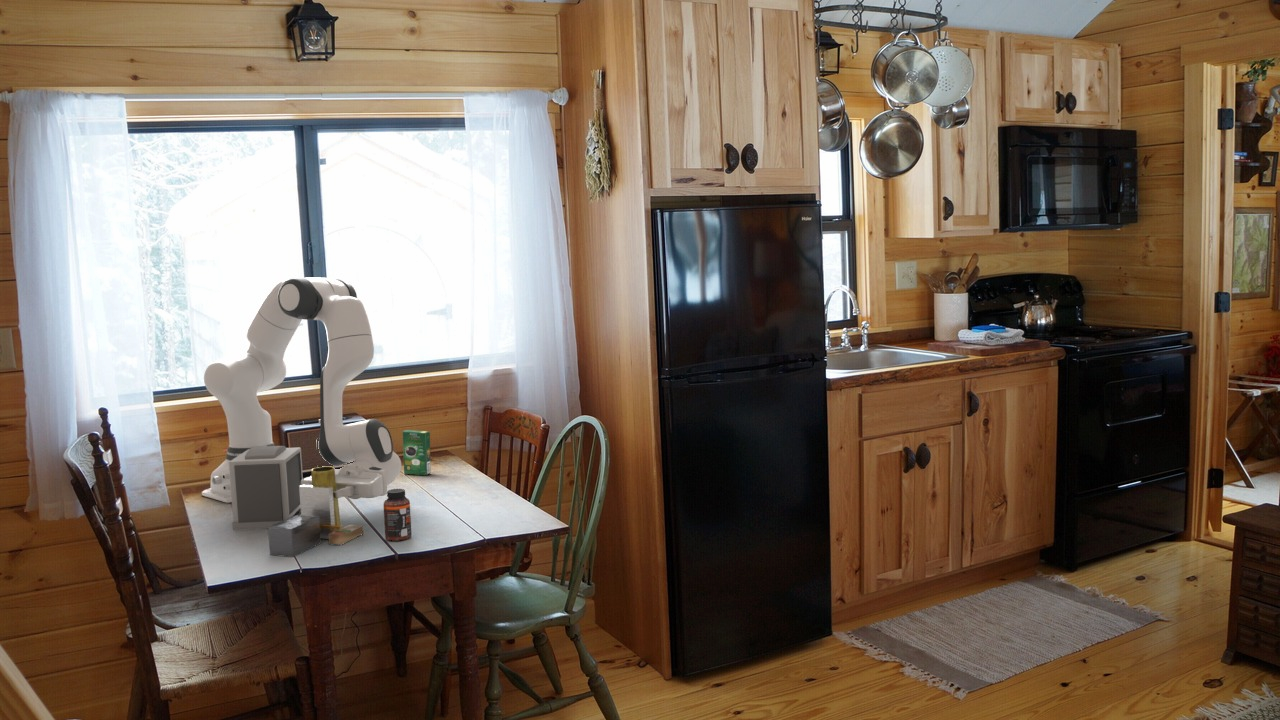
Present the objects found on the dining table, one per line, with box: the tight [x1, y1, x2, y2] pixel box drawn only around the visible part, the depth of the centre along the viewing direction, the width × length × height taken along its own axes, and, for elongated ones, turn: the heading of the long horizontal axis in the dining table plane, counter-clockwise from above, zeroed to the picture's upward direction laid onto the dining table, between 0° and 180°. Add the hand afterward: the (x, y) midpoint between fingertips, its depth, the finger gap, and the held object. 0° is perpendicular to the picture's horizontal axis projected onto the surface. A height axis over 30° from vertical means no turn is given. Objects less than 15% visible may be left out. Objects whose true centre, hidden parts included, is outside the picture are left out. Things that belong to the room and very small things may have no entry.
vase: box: [310, 466, 342, 527], centre depth 236 cm, size 6×6×14 cm
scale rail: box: [328, 524, 364, 546], centre depth 232 cm, size 3×9×2 cm, turn 162°
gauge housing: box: [267, 514, 321, 557], centre depth 225 cm, size 6×10×6 cm, turn 162°
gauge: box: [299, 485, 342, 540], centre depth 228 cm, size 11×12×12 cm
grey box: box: [229, 445, 304, 531], centre depth 251 cm, size 18×13×18 cm
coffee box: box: [402, 429, 432, 476], centre depth 296 cm, size 8×3×13 cm, turn 71°
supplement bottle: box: [383, 488, 412, 542], centre depth 231 cm, size 6×6×11 cm
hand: (322, 494), depth 235 cm, fingers closed on vase, 5 cm apart
